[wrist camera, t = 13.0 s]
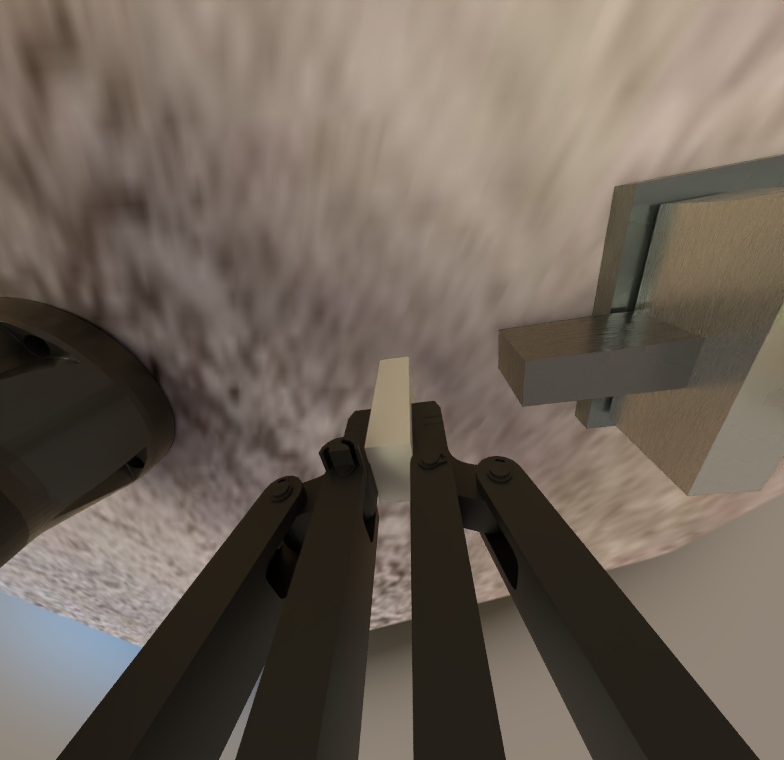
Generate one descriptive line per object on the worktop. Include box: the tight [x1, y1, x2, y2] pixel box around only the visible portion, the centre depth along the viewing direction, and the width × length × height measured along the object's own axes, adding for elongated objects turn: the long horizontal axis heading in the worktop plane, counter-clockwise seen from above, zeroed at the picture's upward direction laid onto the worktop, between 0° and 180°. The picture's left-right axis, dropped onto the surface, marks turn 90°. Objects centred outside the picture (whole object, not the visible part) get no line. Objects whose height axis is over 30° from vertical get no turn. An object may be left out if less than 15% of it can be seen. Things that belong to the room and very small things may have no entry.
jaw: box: [498, 187, 784, 496], centre depth 13 cm, size 10×12×6 cm
